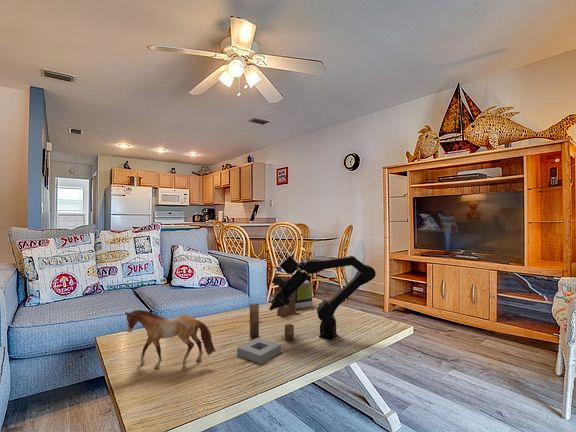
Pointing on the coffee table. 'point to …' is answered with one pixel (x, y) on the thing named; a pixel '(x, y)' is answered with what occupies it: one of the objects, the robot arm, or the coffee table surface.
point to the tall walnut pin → (254, 320)
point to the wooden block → (289, 309)
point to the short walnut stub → (289, 332)
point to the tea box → (303, 296)
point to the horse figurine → (171, 332)
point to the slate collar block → (259, 350)
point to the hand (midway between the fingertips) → (270, 306)
